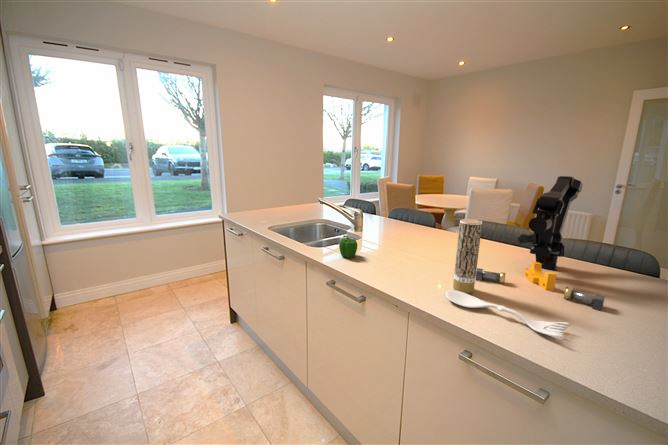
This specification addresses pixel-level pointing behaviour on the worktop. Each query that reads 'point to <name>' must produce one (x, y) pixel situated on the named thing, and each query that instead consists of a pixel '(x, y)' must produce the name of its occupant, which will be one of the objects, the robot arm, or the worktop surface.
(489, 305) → the white plastic spork
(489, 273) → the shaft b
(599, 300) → the shaft
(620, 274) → the worktop surface
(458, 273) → the paper tube
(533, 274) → the pipe clamp
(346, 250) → the bell pepper
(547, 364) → the worktop surface
